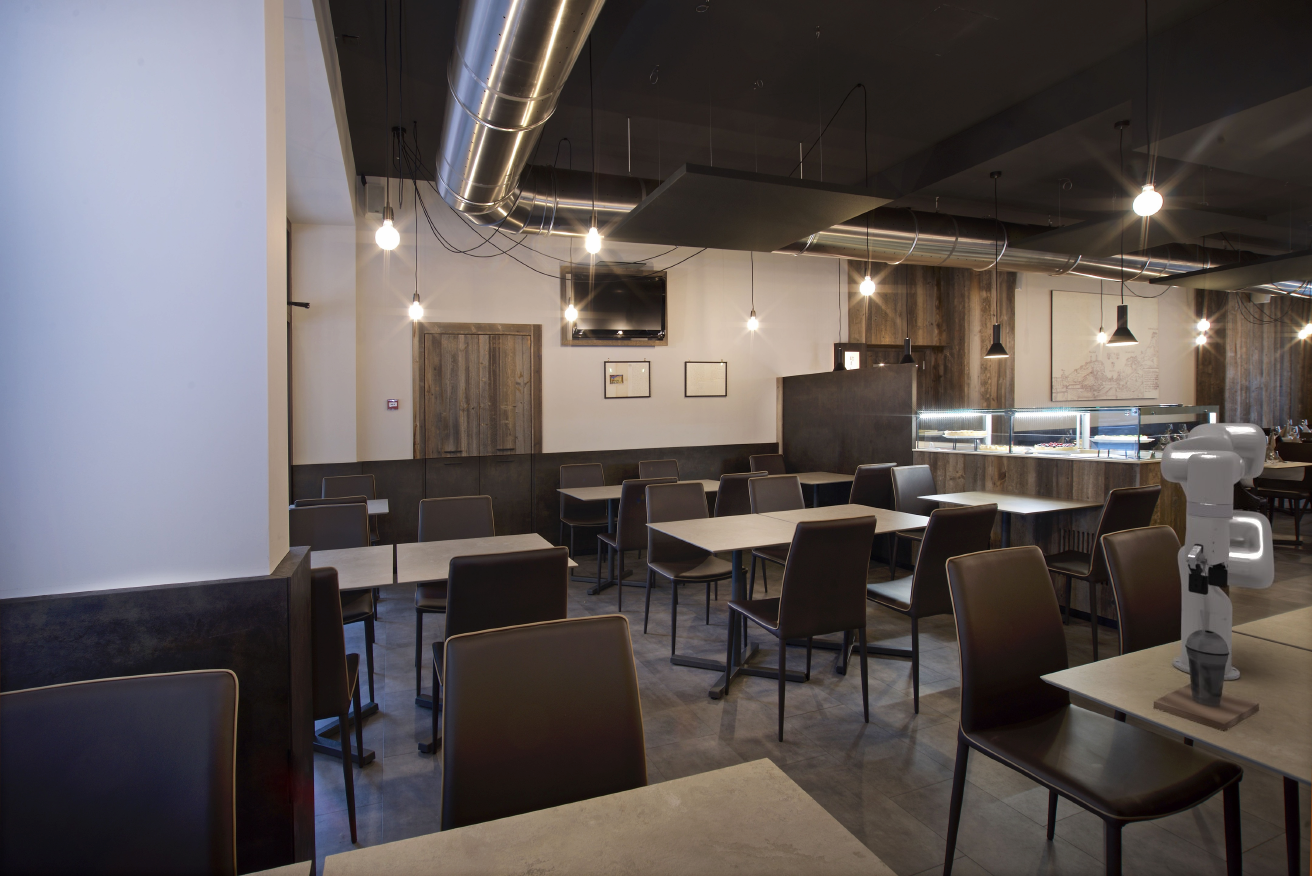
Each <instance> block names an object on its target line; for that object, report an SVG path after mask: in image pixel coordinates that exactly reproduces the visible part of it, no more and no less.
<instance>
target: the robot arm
mask: <svg viewBox="0 0 1312 876" xmlns="http://www.w3.org/2000/svg"><path fill="white" fill-rule="evenodd" d="M1267 446H1268V445H1267V437H1266V434H1265V432H1264V430H1263V429H1262V427H1260V426H1259V425H1257V424H1255V423H1250V422H1249V423H1245V422H1238V423H1237V422H1222V423H1221V422H1214V423H1213V422H1211V423H1209V422H1208V423H1203V424H1199V425H1197V426H1195V427H1193V428H1192V429H1191V430H1190V431H1189V433H1188V435H1187V438H1185V439H1181V440H1176V441H1172V442H1170V443H1168V444H1167V445H1166V446H1165V447H1164V449H1163V451H1162V455H1161V458H1160V459H1161V460H1160V472H1161V475H1162V477H1163V479H1165V480H1166V481H1168V482H1171V483H1179V484H1180V486H1181V487H1182V490H1183V492H1184V494H1185V498H1186V513H1185V514H1186V517H1185V518H1186V520H1185V521H1186V522H1185V524H1186V525H1185V527H1186V528H1185V529H1186V530H1185V539H1184V545H1183V546H1181V547H1180V549H1179V551H1178V553H1177V564H1178V570H1179V576H1180V583H1181V622H1180V623H1181V627H1180V629H1181V630H1180V631H1181V632H1180V637H1181V638H1180V643H1181V644H1180V656H1177V657H1174V658H1173V660H1172V665H1173V666H1174V667H1175V668H1176V669H1177V670H1180V671H1183V672H1185V673H1188V674H1190V670H1189V659H1188V655H1187V651H1186V647H1185V645H1186V641H1187V638H1188V637H1189V635H1190V634H1192V633H1193V632H1195V631H1198V630H1202V625H1201V616H1200V610H1203V617H1204V625H1205V630H1209V631H1213V632H1215V633H1217V634H1218V635H1220V636H1221V637H1222V638H1223V639H1224V640H1225V642H1226V643H1227V646H1228V650H1229V655H1228V660H1227V663H1226V667H1225V675H1224V681H1234V680H1237V679H1239V678H1240V677H1241V675H1240V674H1241V672H1240V670H1239V669H1237V668H1236V667H1234V666H1232V657H1233V653H1232V651H1233V650H1232V646H1233V645H1232V644H1233V641H1232V640H1233V636H1232V635H1233V604H1232V601H1231V599H1230V597H1229V596H1228V595H1227V594H1226V593H1225V592H1224V591H1223V590H1222V589H1221V588H1224V589H1225V588H1227V587H1228V586H1231V587H1240V588H1247V589H1249V588H1250V589H1255V590H1256V589H1257V590H1259V589H1261V590H1262V589H1266V588H1269V587H1270V586H1271V585H1272V584H1273V582H1274V579H1275V562H1274V561H1275V560H1274V545H1273V533H1272V527H1271V523H1270V520H1269V519H1268V518H1267V516H1266V515H1264V514H1263V513H1261V512H1260V513H1259V512H1256V511H1250V510H1249V511H1248V510H1237V509H1235V510H1234V489H1235V487H1234V485H1235V484H1237V483H1238V482H1240V480H1241V479H1255V478H1257V477H1260V475H1261V474H1262V473H1263V471H1264V467H1265V461H1266V460H1265V459H1266V453H1267Z"/></svg>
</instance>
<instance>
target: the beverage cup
mask: <svg viewBox="0 0 1312 876" xmlns="http://www.w3.org/2000/svg"><path fill="white" fill-rule="evenodd" d="M1200 616H1201V625H1202V630H1198V631H1195V632H1193V633H1192V634H1190V635H1189V637H1188V638H1187V641H1186V645H1185V647H1186V651H1187V655H1188V659H1189V670H1190V673H1189V677H1190V684H1191V692H1192V697H1193V701H1195V702H1196V703H1199V704H1202V705H1206V706H1212V707H1218V706H1220V701H1221V697H1222V693H1223V691H1224V689H1223V688H1224V681H1225V680H1224V675H1225V667H1226V663H1227V660H1228V655H1229V650H1228V646H1227V643H1226V642H1225V640H1224V639H1223V638H1222V637H1221V636H1220V635H1218V634H1217V633H1215V632H1213V631H1209V630H1205V625H1204V617H1203V610H1200Z"/></svg>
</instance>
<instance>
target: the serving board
mask: <svg viewBox="0 0 1312 876" xmlns="http://www.w3.org/2000/svg"><path fill="white" fill-rule="evenodd" d="M1155 708H1156V710H1158V709H1159V711H1161V710H1163V711H1162V712H1164V711H1167V712H1170V713H1172V714H1171V715H1173V714H1174V716H1177V717H1179V718H1183V719H1187V720H1189V721H1192V722H1194V723H1195V722H1196V723H1198V724H1201V725H1205V726H1208V727H1211V728H1213V729H1216V728H1217V729H1216V730H1219V729H1221V730H1220V731H1222V730H1224V731H1223V732H1225V730H1226V729H1227V730H1229V729H1230V728H1233V725H1234V726H1235V725H1237V724H1238V723H1241V722H1242V721H1244V720H1245V719H1247V718H1248V717H1250V716H1251V715H1253V714H1255V713H1256V712H1258V711H1259V710H1260V703H1259V702H1255V701H1252V700H1248V699H1245V698H1241V697H1239V696H1235V695H1231V694H1228V693H1224V692H1222V697H1221V701H1220V706H1218V707H1212V706H1206V705H1202V704H1199V703H1196V702H1195V701H1193V697H1192V692H1191V683H1189V684H1187V685H1185V686H1182V687H1180V688H1178V689H1176V690H1174V691H1171V692H1169V693H1168V694H1166V695H1164V696H1161V697H1159V698H1158V699H1155V700H1153V709H1155ZM1167 712H1166V713H1167ZM1170 713H1169V714H1170ZM1228 728H1229V729H1228ZM1227 730H1226V731H1227Z"/></svg>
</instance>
